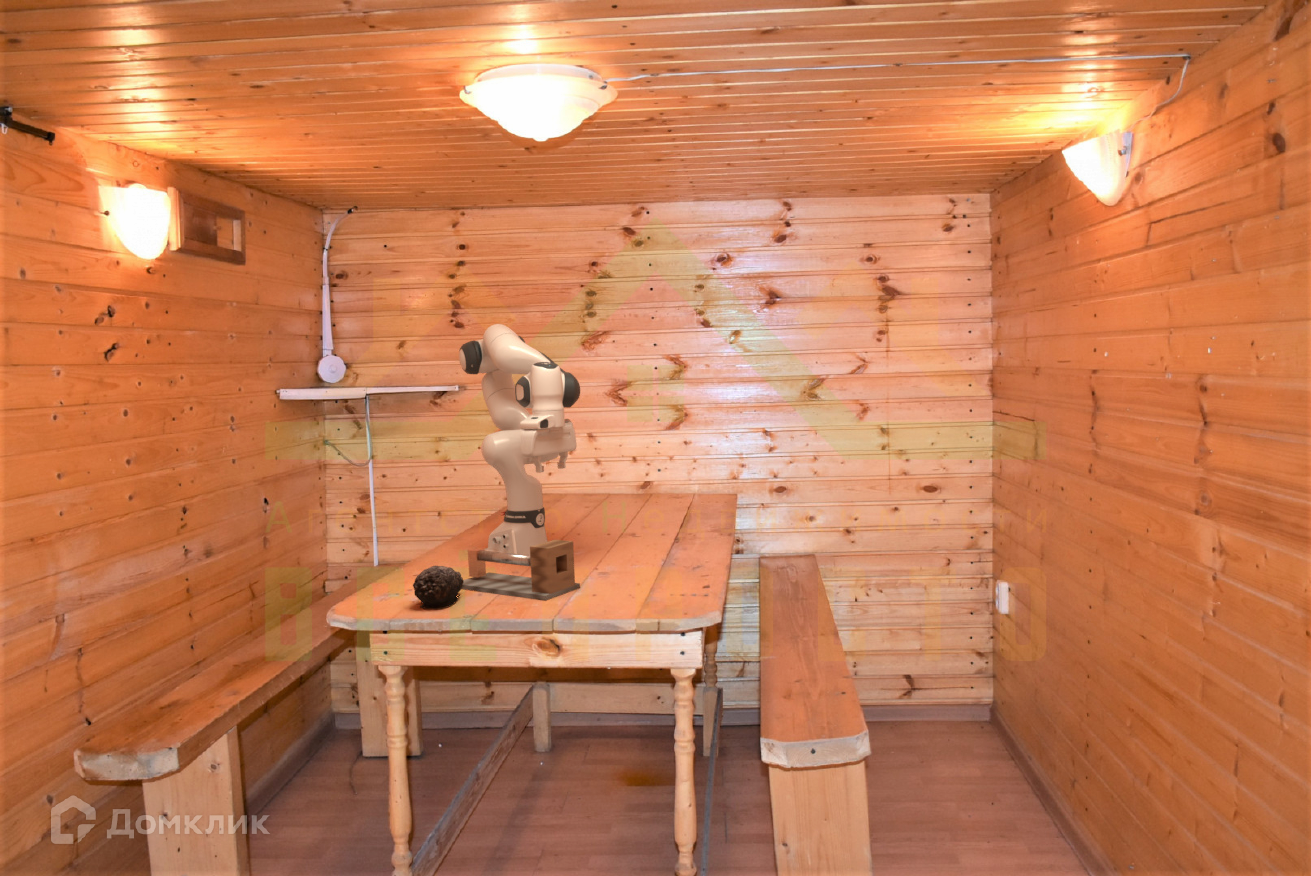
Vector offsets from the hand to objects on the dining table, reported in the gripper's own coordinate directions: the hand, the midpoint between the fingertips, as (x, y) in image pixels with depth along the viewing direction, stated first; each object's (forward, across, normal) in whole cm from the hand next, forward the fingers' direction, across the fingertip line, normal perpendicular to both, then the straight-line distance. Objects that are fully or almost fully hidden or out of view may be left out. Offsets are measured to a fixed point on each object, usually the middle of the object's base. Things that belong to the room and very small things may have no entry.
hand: (550, 470), depth 259 cm
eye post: (+29, +18, +1) cm, 34 cm away
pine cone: (+30, +37, -7) cm, 48 cm away
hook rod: (+27, +18, -4) cm, 33 cm away
